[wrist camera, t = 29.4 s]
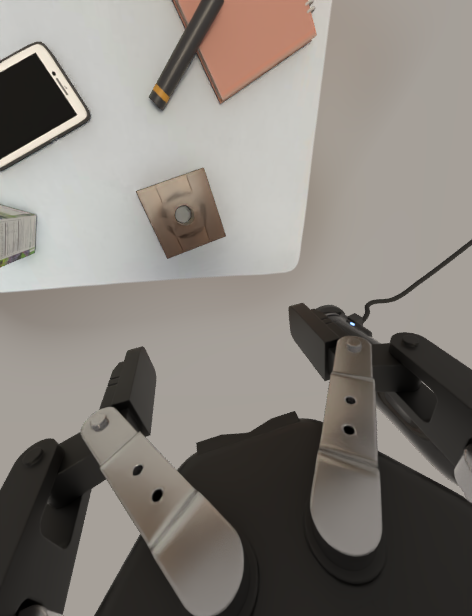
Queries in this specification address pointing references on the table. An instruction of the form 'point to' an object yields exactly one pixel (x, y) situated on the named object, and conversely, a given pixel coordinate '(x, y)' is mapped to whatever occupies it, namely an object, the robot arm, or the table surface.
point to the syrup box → (16, 234)
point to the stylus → (185, 50)
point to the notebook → (249, 39)
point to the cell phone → (35, 103)
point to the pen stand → (178, 192)
